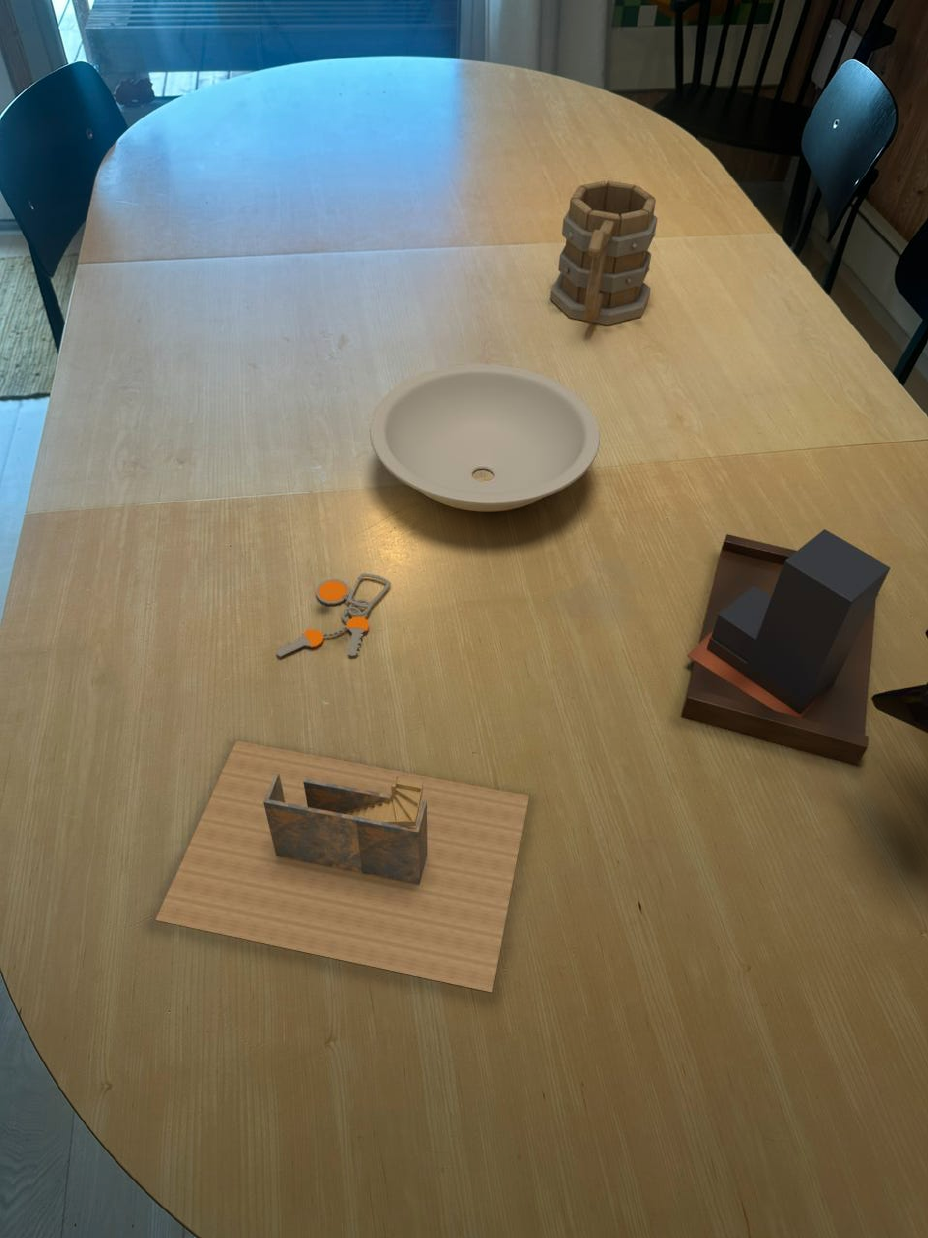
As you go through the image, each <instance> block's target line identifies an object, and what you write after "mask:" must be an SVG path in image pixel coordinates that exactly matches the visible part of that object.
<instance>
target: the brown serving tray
mask: <svg viewBox="0 0 928 1238" xmlns="http://www.w3.org/2000/svg"><path fill="white" fill-rule="evenodd" d="M722 543H723V544H722V546H721V550H720V553H719V558H718V561H717V565H716V570H715V573H714V578H713V583H712V586H711V591H710V593H709V599H708V603H707V607H706V610H705V611H706V612H705V616H704V620H703V623H702V627H701V632H700V636H699V639H698V644H697V645H696V646H695V647H694V648H693V649H692V650H691V651H690V652H689V653H688V654H687V655H686V657H687V658H689V659H691V660H693V665H692V667H691V668H692V669H691V673H690V677H689V682H688V685H687V690H686V694H685V697H684V701H683V706H682V711H681V715H680V716H681V717H683V718H687V719H689V720H693V721H697V722H701V723H704V724H708V725H711V726H715V727H719V728H721V729H726V730H729V731H733V732H735V733H740V734H744V735H747V736H751V737H754V738H758V739H761V740H765V741H768V742H772V743H776V744H779V745H782V746H787V747H790V748H794V749H796V750H797V749H798V750H800V751H804V752H807V753H811V754H815V755H817V756H818V755H819V756H823V757H826V758H829V759H833V760H836V761H841V762H843V763H847V764H851V765H855V766H859V764H860V762H861V761H862V758H863V757H864V755H865V754H866V752H867V750H868V749H869V739H870V737H869V736H868V735H866V729H867V728H866V726H867V715H868V714H867V713H868V699H869V689H870V675H871V662H872V651H873V650H872V649H873V638H874V625H875V612H876V600H877V599H875V601H874V603H873V605H872V607H871V609H870V611H869V613H868V615H867V617H866V619H865V622H864V624H863V626H862V628H861V630H860V632H859V634H858V636H857V638H856V640H855V642H854V644H853V646H852V648H851V650H850V652H849V654H848V656H847V658H846V661H845V663H844V665H843V667H842V669H841V670H840V673H839V675H838V677H837V679H836V681H835V682H834V683H833V684H832V685H831V686H830V687H829V688H827V689H826V690H825V691H824V692H823V693H822V694H821V695H820V696H819V697H818V698H817V699H816V700H815V701H814V702H813V703H812V704H811V705H810V706H808V707H807V708H806V709H805V710H804V711H803V712H802V713H801V714H799V713H797V712H796V711H794V710H793V709H791V708H790V707H789V706H787V705H786V704H784V703H783V702H782V701H780V700H779V699H777V698H776V697H774V696H773V695H772V694H770V693H769V692H767V691H766V690H764V689H763V688H762V687H760V686H759V685H757V684H756V683H755V682H753V681H752V680H750V679H749V678H747V677H746V676H745V675H743V674H742V673H740V672H739V671H737V670H736V669H735V668H733V667H732V666H730V665H729V664H728V663H726V662H725V661H723V660H722V659H720V658H719V657H718V656H716V655H715V654H713V653H712V652H710V651H709V650H708V649H707V646H708V643H709V640H710V638H711V636H712V633H713V630H714V627H715V623H716V620H717V617H718V614H719V613H721V612H722V611H723V610H724V609H725V608H727V607H728V606H729V605H730V604H732V603H733V602H734V601H735V600H737V599H738V598H739V597H740V596H742V595H743V594H744V593H745V592H747V591H748V590H749V589H750V588H752V587H753V586H754V587H756V588H757V589H759V590H760V591H762V592H763V593H765V594H767V595H768V596H770V597H772V594H773V592H774V589H775V586H776V584H777V581H778V578H779V576H780V573H781V570H782V568H783V565H784V562H785V560H787V559H788V558H789V557H790V556H791V555H793V554H794V553H795V552H796V551H797V550H796V549H791V548H787V547H782V546H779V545H775V544H770V543H766V542H763V541H758V540H753V539H751V538H750V539H749V538H745V537H742V536H741V537H740V536H736V535H732V534H729V533H726V534H725V537H724V541H723V542H722Z"/></svg>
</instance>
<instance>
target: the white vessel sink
mask: <svg viewBox="0 0 928 1238" xmlns="http://www.w3.org/2000/svg"><path fill="white" fill-rule="evenodd" d="M369 427H370V428H369V436H370V441H371V445H372V448H373V450H374V453H375V455H376V457H377V458H378V460H379V461H380V463H381V464H382V465H383V467H384V468H385V469H386V470H387V471H388V472H389V473H390V474H391V475H393V477H395V478H396V479H398V480H399V481H401V483H403V484H405V485H407V486H409V487H410V488H412V489H414V490H416V491H418V492H420V493H421V494H423V495H425V496H426V497H428V498H430V499H432V500H434V501H436V502H438V503H441V504H443V505H446V506H449V507H453V508H455V509H460V510H465V511H471V512H487V513H490V512H501V511H502V512H503V511H509V510H514V509H519V508H521V507H524V506H528V505H530V504H534V503H535V502H538V501H540V500H542V499H544V498H546V497H549V496H551V495H553V494H556V493H558V492H560V491H562V490H564V489H566V488H568V487H570V486H571V485H572V484H574V483H575V482H577V481H578V480H579V479H580V478H581V477H582V476H583V475H584V474H585V473H586V472H587V471H588V470H589V469H590V467H591V465H593V462H594V461H595V459H596V458H597V454H598V452H599V449H600V445H601V444H600V443H601V433H600V426H599V424H598V420H597V418H596V416H595V414H594V412H593V410H592V409H591V408H590V406H589V405H588V404H587V402H586V401H585V400H584V399H583V398H581V396H579V395H578V394H577V393H576V392H574V391H573V390H572V389H571V388H569V387H567V386H566V385H564V384H563V383H561V382H559V381H557V380H556V379H553V378H551V377H549V376H547V375H544V374H541V373H538V372H535V371H532V370H529V369H525V368H520V367H515V366H510V365H504V364H493V363H465V364H456V365H449V366H444V367H440V368H435V369H432V370H428V371H425V372H423V373H419V374H417V375H415V376H413V377H411V378H408V379H407V380H405V381H403V382H401V383H400V384H399V385H397V386H396V387H394V388H393V389H391V390H390V391H389V392H388V393H387V394H386V395H385V396H384V397H383V398H382V399H381V401H380V402H379V403H378V405H377V406H376V408H375V410H374V412H373V414H372V418H371V422H370V426H369ZM477 470H488V471H490V472H491V473H492V474H493V477H492V478H491V479H489V480H486V481H485V480H483V481H482V480H477V479H476V478H474V477H473V473H474V472H475V471H477Z"/></svg>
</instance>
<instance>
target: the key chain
mask: <svg viewBox="0 0 928 1238" xmlns="http://www.w3.org/2000/svg"><path fill="white" fill-rule="evenodd" d="M363 578H372V579H376V580H378V581H381V582H383V583H385V585H384V587H383V588H382V589H381V590H380V591H379V592H378V593H377V595H375V597H374V598H373V599H372V600H371V601H368V600H367V599H363V598H360V599H356V597H355V596H354V593H355V591H356V589H357V587H358V585H359V583H360V581H361V580H362V579H363ZM391 585H392V583H391V581H390V580H389V579H387V578H385V577H383V576H381V575H378V574H373V573H366V572H365V573H364V572H363V573H360V574H359V575H358V577H357V580H356V582H355V584H354V586H353V588H352V589H350V586H349V585H348V583H346V582H345V581H344V580H341V579H337V578H329V579H327V580H324V581H322V582H321V583H319V584H318V585H317V587H316V589H315V596H316V598H317V600H318V601H320V602H321V603H322V604H325V605H339V604H342V603H343V602H345V601H346V602H347V603H349V605H348V607H346V608H344V609H343V610H342V612H341V618H342V620H343V621H344V622H346V624H345V625H344V626H343V627H341V628H340V629H338V630H336V631H333V632H327V633H326V632H325V633H324V632H321V631H320V630H318V629H313V628H311V629H307V630H305V631H304V632H302V633H301V636H300V637H298V638H297V639H296V640H295V641H289V642H287V644H285V645H283V647H282V648H281V647H277V650H275V652H276V656H277V657H280V658H281V657H283V656H285V655H288V654H290V653H292V652H294V651H296V650H299V649H300V648H303V647H310V648H312V649H313V648H317V647H318V646H320V645H321V644H322V643H323V641H324V637H333V636H337V635H339V634H342V633H343V632H345V631H346V630H348V631H349V632H350V633H351V635H350V641H349V645H348V649H347V653H346V654H347V656H350V657H355V656H357V655H358V654H359V650H358V649H359V648H360V646H361V645H362V637H364V633H365V632H368V630H369V628H370V624H369V621H368V619H367V618H366V617H364V616H366V615H367V614H368V613H369V612H370V611H371V609H372V606H373V605H374V604H375V603H376V602H378V600H379V599H380V598H381V597H382V596H383V595H384V594H385V593H386V592H387V590H389V588H390V586H391ZM350 590H351V592H350ZM356 606H357V607H356ZM359 608H363V609H365V610H363V611H361V609H359ZM353 611H356V612H353ZM346 613H348V614H349V615H351V616H352V617H351V618H350V619H347V618H346V616H345V615H346Z"/></svg>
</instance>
